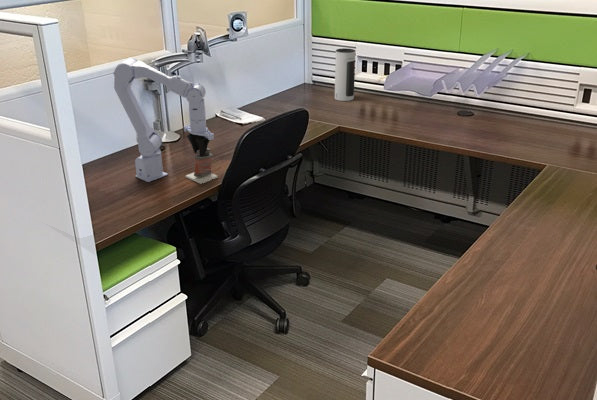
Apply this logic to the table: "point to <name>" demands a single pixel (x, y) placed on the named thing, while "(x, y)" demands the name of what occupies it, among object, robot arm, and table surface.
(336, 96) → the speaker
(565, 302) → the table surface
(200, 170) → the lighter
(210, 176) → the tile
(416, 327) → the table surface
